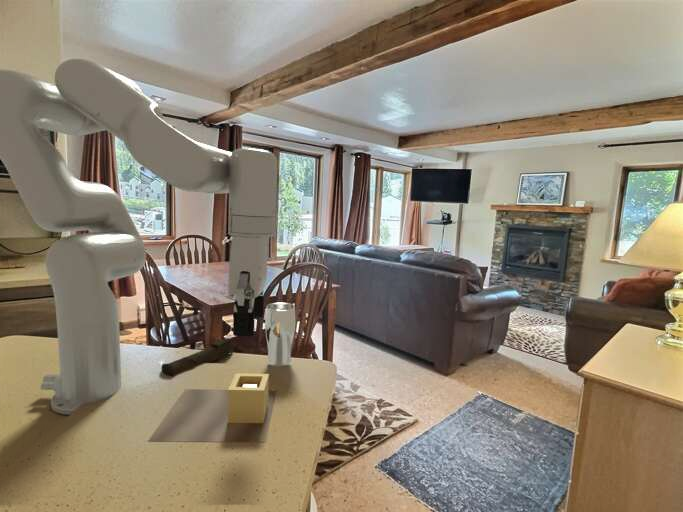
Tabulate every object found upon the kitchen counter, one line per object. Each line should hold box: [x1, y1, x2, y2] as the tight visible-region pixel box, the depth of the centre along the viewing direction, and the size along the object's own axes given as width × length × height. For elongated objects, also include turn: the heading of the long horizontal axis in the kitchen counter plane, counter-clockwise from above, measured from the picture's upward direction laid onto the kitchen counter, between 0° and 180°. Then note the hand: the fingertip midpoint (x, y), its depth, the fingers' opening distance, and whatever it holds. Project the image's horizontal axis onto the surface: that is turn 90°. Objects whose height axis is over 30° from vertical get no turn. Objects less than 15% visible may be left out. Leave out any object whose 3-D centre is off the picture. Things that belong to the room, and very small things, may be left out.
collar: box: [227, 372, 270, 423], centre depth 65 cm, size 6×6×6 cm
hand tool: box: [161, 337, 234, 377], centre depth 86 cm, size 19×4×5 cm, turn 148°
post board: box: [147, 383, 278, 443], centre depth 65 cm, size 18×16×6 cm
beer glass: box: [264, 302, 296, 367], centre depth 87 cm, size 7×7×15 cm
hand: (249, 325), depth 63 cm, fingers open, 9 cm apart
